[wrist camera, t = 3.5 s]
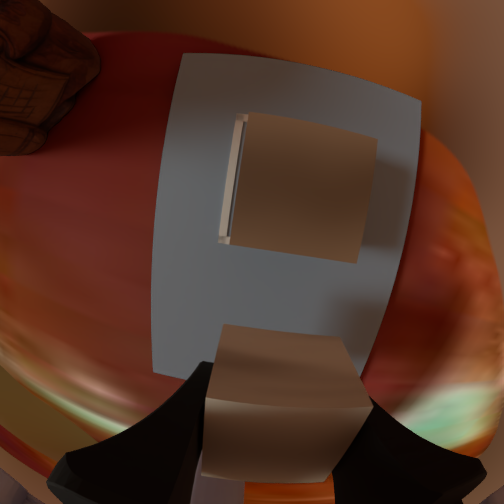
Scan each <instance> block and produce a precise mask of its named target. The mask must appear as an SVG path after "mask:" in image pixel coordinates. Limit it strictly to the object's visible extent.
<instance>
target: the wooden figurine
mask: <svg viewBox="0 0 504 504" xmlns="http://www.w3.org/2000/svg"><path fill="white" fill-rule="evenodd" d="M100 62H101V59H100V57H99V54H98V52H97V50H96V48H95V46H94V45H93V44H92V43H91V41H90V40H89V38H88V37H86V36H84V35H83V34H82V33H81V32H79V31H78V30H76V29H75V28H73V27H72V26H71V25H70V24H69V23H68V22H66V21H65V20H63V19H61V18H60V17H58V16H57V15H55V14H53V13H51V11H50V10H49V9H48V8H47V7H46V6H44V5H43V4H42V3H41V2H40V1H39V0H0V156H19V155H26V154H30V153H32V152H34V151H36V150H37V149H39V148H40V147H41V146H42V145H43V144H44V143H45V142H46V139H47V133H48V131H49V130H50V128H52V127H53V126H54V125H55V124H57V123H58V122H59V121H60V120H61V119H62V117H63V116H65V115H66V114H67V113H68V112H69V111H70V110H71V109H72V107H73V106H74V104H75V95H76V92H78V91H79V90H80V89H81V88H82V87H83V86H85V85H86V84H88V83H89V82H90V81H91V80H92V79H93V78H94V77H95V76H97V75H98V74H99V72H100Z"/></svg>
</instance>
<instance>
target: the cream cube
mask: <svg viewBox="0 0 504 504" xmlns="http://www.w3.org/2000/svg"><path fill="white" fill-rule="evenodd" d="M372 408H373V404H372V402H371V400H370V398H369V396H368V394H367V392H366V389H365V387H364V385H363V383H362V381H361V379H360V377H359V375H358V373H357V371H356V369H355V367H354V365H353V362H352V360H351V358H350V356H349V354H348V352H347V350H346V348H345V346H344V344H343V342H342V340H341V338H340V337H336V336H323V335H312V334H301V333H292V332H283V331H274V330H266V329H258V328H251V327H244V326H237V325H230V324H224V323H223V327H222V332H221V336H220V340H219V344H218V348H217V352H216V356H215V360H214V365H213V369H212V373H211V377H210V381H209V386H208V390H207V394H206V400H205V415H204V431H203V449H202V470H201V476H207V477H213V478H220V479H228V480H237V481H248V482H263V483H312V482H324V481H325V479H326V478H327V477H328V475H329V474H330V473H331V472H332V470H333V469H334V467H335V466H336V465H337V463H338V462H339V461H340V459H341V458H342V456H343V455H344V453H345V452H346V451H347V449H348V448H349V446H350V445H351V443H352V441H353V440H354V438H355V437H356V435H357V434H358V432H359V430H360V429H361V427H362V426H363V424H364V422H365V421H366V419H367V417H368V415H369V414H370V412H371V410H372Z"/></svg>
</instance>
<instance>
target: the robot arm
mask: <svg viewBox="0 0 504 504" xmlns="http://www.w3.org/2000/svg"><path fill="white" fill-rule="evenodd" d="M213 365H214V363H212V362H206V361H202V362H200V363H199V364H198V366H197V367H196V369H195V370H194V372H193V373H192V374H191V375H190V377H189V378H188V379H187V380H186V381H185V382H184V384H183V385H182V386H181V387H180V388H179V389H178V390H177V391H176V392H175V393H174V394H173V395H172V396H171V397H170V398H169V399H168V400H166V401H165V402H164V403H163V404H162V405H161V406H160V407H159V408H157V409H156V410H155V411H154V412H152V413H151V414H150V415H148V416H147V417H145V418H144V419H143V420H141V421H139V422H138V423H136V424H135V425H133V426H131V427H130V428H128V429H126V430H125V431H123V432H121V433H119V434H117V435H115V436H112V437H110V438H108V439H106V440H104V441H101V442H99V443H96V444H94V445H91V446H88V447H85V448H81V449H78V450H75V451H71V452H67V453H65V455H64V456H63V457H62V458H61V459H60V461H59V462H58V463H57V464H56V466H55V468H54V469H53V471H52V473H51V474H50V476H49V478H48V480H47V481H46V483H47V486H48V488H49V489H50V490H51V492H52V493H53V494H54V495H55V496H56V497H57V498H58V499H59V500H60V501H61V502H62V503H63V504H243V502H244V484H245V481H237V480H228V479H220V478H213V477H207V476H201V470H202V449H203V431H204V415H205V400H206V394H207V390H208V386H209V381H210V377H211V373H212V369H213ZM368 396H369V395H368ZM369 398H370V400H371V402H372V404H373V408H372V410H371V412H370V414H369V415H368V417H367V419H366V421H365V422H364V424H363V426H362V427H361V429H360V430H359V432H358V434H357V435H356V437H355V438H354V440H353V441H352V443H351V445H350V446H349V448H348V449H347V451H346V452H345V453H344V455H343V456H342V458H341V459H340V461H339V462H338V463H337V465H336V466H335V467H334V469H333V470H332V475H333V482H334V493H335V504H463V502H462V499H463V498H464V497H465V496H466V495H468V494H469V493H470V492H471V491H472V490H473V489H474V488H476V487H477V486H478V485H479V484H480V483H481V482H482V481H483V480H484V479H485V477H486V475H487V472H486V470H485V468H484V467H483V465H482V463H481V461H480V460H479V459H478V458H474V457H470V456H466V455H462V454H458V453H455V452H452V451H450V450H447V449H444V448H442V447H440V446H437V445H435V444H433V443H431V442H429V441H427V440H425V439H424V438H422V437H420V436H418V435H417V434H415V433H414V432H412V431H411V430H409V429H408V428H406V427H405V426H403V425H402V424H401V423H399V422H398V421H397V420H395V419H394V418H393V417H392V416H391V415H389V414H388V413H387V412H386V411H385V410H384V409H382V408H381V407H380V406H379V405H378V404H377V403H376V402H375V401H374V400H373V399H372V398H371V397H370V396H369ZM0 504H45V503H43V502H41V501H40V500H38V499H37V498H35V497H34V496H32V495H31V494H29V493H28V492H27V490H26V489H25V488H24V487H23V486H22V485H21V484H20V483H18V482H17V481H16V480H15V479H14V478H12V477H11V476H10V475H9V474H7V473H6V472H5V471H4V470H3V469H1V468H0ZM480 504H504V486H502V487H501V488H499V489H498V490H497V491H495V492H494V493H492V494H491V495H490V496H488V497H487V498H486V499H485V500H483V501H482V502H481V503H480Z"/></svg>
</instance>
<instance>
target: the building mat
mask: <svg viewBox="0 0 504 504" xmlns="http://www.w3.org/2000/svg"><path fill="white" fill-rule="evenodd" d="M249 112H255V113H263V114H270V115H276V116H282V117H288V118H293V119H299V120H304V121H309V122H314V123H318V124H323V125H327V126H331V127H336V128H340V129H344V130H348V131H351V132H355V133H359V134H362V135H366V136H369V137H373V138H376V139H378V144H377V152H376V161H375V168H374V175H373V182H372V189H371V195H370V201H369V206H368V212H367V217H366V223H365V228H364V232H363V237H362V242H361V247H360V251H359V255H358V260H357V264H354V263H347V262H341V261H334V260H328V259H321V258H315V257H308V256H302V255H295V254H289V253H282V252H275V251H269V250H262V249H255V248H249V247H242V246H235V245H229V243H230V235H231V228H232V220H233V213H234V206H235V199H236V192H237V185H238V179H239V172H240V165H241V159H242V152H243V146H244V139H245V133H246V127H247V121H248V115H249ZM420 128H421V101H420V100H417V99H415V98H413V97H410V96H408V95H405V94H403V93H400V92H398V91H395V90H393V89H390V88H387V87H384V86H382V85H379V84H376V83H373V82H370V81H367V80H364V79H361V78H358V77H354V76H350V75H347V74H343V73H340V72H336V71H332V70H328V69H324V68H320V67H315V66H311V65H306V64H301V63H296V62H290V61H284V60H278V59H271V58H263V57H255V56H245V55H233V54H214V53H183V56H182V60H181V64H180V68H179V72H178V76H177V80H176V85H175V89H174V94H173V98H172V103H171V108H170V113H169V118H168V124H167V129H166V135H165V141H164V147H163V154H162V161H161V168H160V175H159V184H158V192H157V202H156V212H155V224H154V237H153V254H152V280H151V333H152V359H153V372H155V373H159V374H163V375H168V376H172V377H177V378H181V379H186V380H187V379H188V378H189V377H190V375H191V374H192V373H193V372H194V370H195V369H196V367H197V366H198V364H199V363H200V362H202V361H206V362H212V363H214V360H215V356H216V352H217V348H218V344H219V340H220V336H221V332H222V327H223V323H224V324H230V325H237V326H244V327H251V328H258V329H266V330H274V331H283V332H292V333H301V334H312V335H323V336H336V337H340V338H341V340H342V342H343V344H344V346H345V348H346V350H347V352H348V354H349V356H350V358H351V360H352V362H353V365H354V367H355V369H356V371H357V373H358V375H359V377H360V375H361V373H362V371H363V368H364V366H365V364H366V361H367V359H368V356H369V354H370V351H371V349H372V346H373V344H374V341H375V339H376V336H377V333H378V330H379V328H380V325H381V322H382V319H383V316H384V313H385V310H386V307H387V304H388V301H389V298H390V295H391V291H392V288H393V285H394V281H395V277H396V274H397V270H398V266H399V263H400V259H401V255H402V250H403V246H404V242H405V237H406V233H407V228H408V223H409V218H410V212H411V207H412V201H413V195H414V188H415V181H416V173H417V165H418V155H419V143H420Z"/></svg>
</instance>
